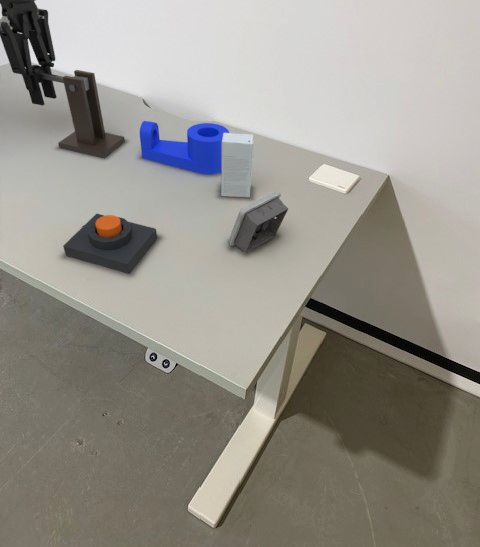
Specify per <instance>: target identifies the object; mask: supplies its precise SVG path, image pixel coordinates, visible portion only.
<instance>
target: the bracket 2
mask: <svg viewBox="0 0 480 547" xmlns="http://www.w3.org/2000/svg"><path fill="white" fill-rule="evenodd" d="M158 124H159V123H158V122H155V121H149V120H143V121H142V122H141V124H140V127H139V142H140V149H141V150H140V151H141V157H142V159H144V160H148V161H151V162H155V163H158V164H163V165H167V166H170V167H175V168H179V169H182V170H186V171H189V172H194V173H198V174H202V175H216V174H220V173H221V172H222V138H223V133H230V130H229V129H228V128H227V127H226V126H224V125H221V124H218V123H212V122H201V123H196V124H194V125H191V126H190V127H188V128H187V130H186V139H187V140H186V141H177V140H165V139H160V129H159V125H158Z"/></svg>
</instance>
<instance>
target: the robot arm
mask: <svg viewBox="0 0 480 547" xmlns="http://www.w3.org/2000/svg"><path fill="white" fill-rule="evenodd" d="M0 7H1V18H0V40H1V43H2V44H3V45H2V47H3V49H4V52H5V54H6V56H7V59H8V62H9V66H10V68H11V71H12V73H13V74H16V75H21V76H22V79H23V82H24V83H23V84H24V85H25V89H26V90H27V91H28V94H29V97H30V100H31V103H32V104H33V105H38V106H45V100H44V98H48V99H54V100H56V99H57V98H58V96H57V93H56V90H55V84H54V81H51V80H46V79H45V80H44V81H43V82H41V83H39V82H38V78H37V75H36V74H34V73H33V70H32V65H33V64H32V59H31V52H30V47H29V43H30V46H31V48H32V50H33V53H34V56H35V58H36V61H37V63H38V66H40V67H41V68H43V70H44V71H45V73H49V74H53V73H52V69H51V68H54V67H55V63H54V62H56V54H55V48H54V43H53V39H52V34H51V29H50V24H49V11H48V10H47V9H43V8H39V7H38V5H37V4H36V0H0ZM40 84H41V85H40ZM41 88H42V89H41ZM43 96H44V97H43Z"/></svg>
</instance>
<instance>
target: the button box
mask: <svg viewBox="0 0 480 547" xmlns="http://www.w3.org/2000/svg"><path fill="white" fill-rule="evenodd" d="M102 216H106V215H105V214H100V213H95V214H94V215H93V216H92V217H91V218H90V219H89V220H88V221H87V222H86V223H85V224H84V225H83V226H82V227H80V229H79V230H78V231H76V233H75V234H74V235H72V236H71V238H70V239H69V240H68V241H66V242H65V243H64V244H63V245H62V247H63V250H64V252H65V253H64V254H65V256H66V257H70V258H72V259H77V260H79V261H83V262H87V263H89V264H94V265H97V266H101V267H105V268H109V269H112V270H115V271H119V272H123V273H126V274H131V272H133V270H134V268H135V267H136V266H137V265H138V264H139V262H140V261H141V260H142V258H143V257H144V256H145V255H146V253H147V252H148V251H149V250H150V248H151V247H152V246H153V245H154V243H155V242H156V240H158V235H157V228H155V227H152V226H151V227H150V226H148V225H147V226H146V225H143V224H139V223H136V222H131V221H129V220H127V219H126V218H123V217H120V216H117V217H118V218H119V219H120V221H121V227H122V231H121V233H120V234H118V235H116V236H113V237H102V236H100V235H99V234H98V233H97V228H96V221H97V219H99V218H100V217H102Z"/></svg>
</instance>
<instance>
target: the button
mask: <svg viewBox="0 0 480 547" xmlns="http://www.w3.org/2000/svg"><path fill="white" fill-rule="evenodd" d="M118 217H119V216H116V215H114V214H108V215H107V214H106V215H105V216H102V217H100V218H99V219H97V221H96V228H97V233H98V234H99V235H100V236H102V237H113V236H116V235H118V234H120V233H121V231H122V227H121V221H120V219H119V218H118Z"/></svg>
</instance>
